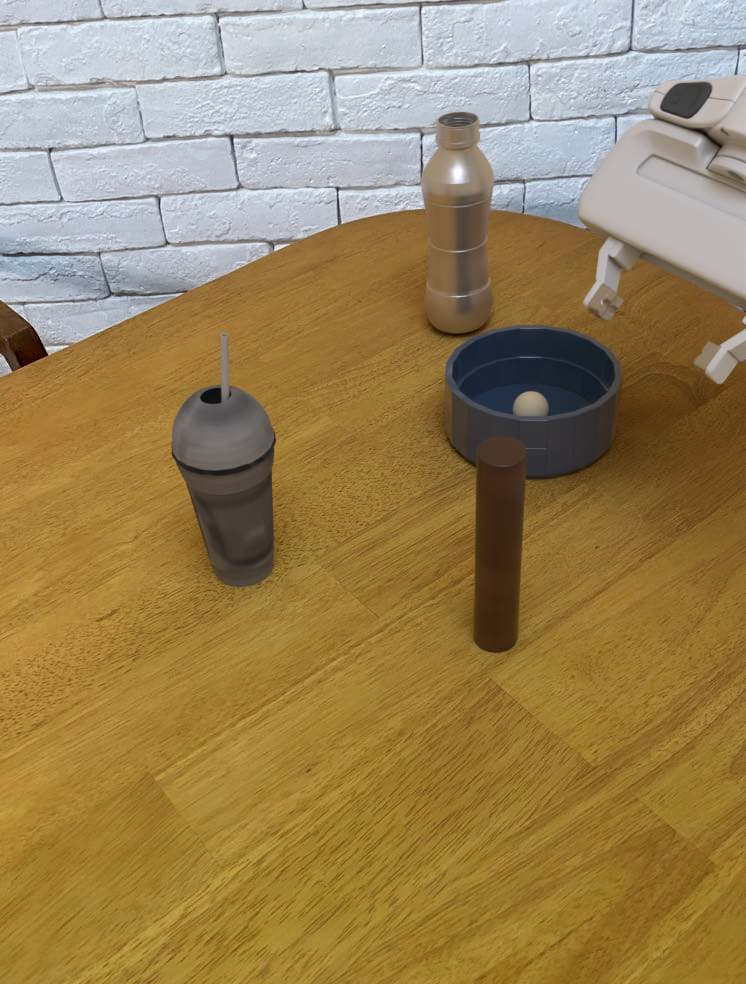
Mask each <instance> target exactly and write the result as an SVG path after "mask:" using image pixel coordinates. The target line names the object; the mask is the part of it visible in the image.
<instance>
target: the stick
mask: <svg viewBox="0 0 746 984" xmlns="http://www.w3.org/2000/svg"><path fill="white" fill-rule="evenodd" d="M526 463H527V449H526V447H525V446H524V445H523V443H521V442H520V441H518V440H516V439H513V438H510V437H493V438H489V439H487V440H485V441H483V442H482V443H481V444H480V445H479V446H478V448H477V452H476V465H475V520H474V521H475V523H474V525H475V527H474V528H475V530H474V538H475V539H474V592H473V593H474V594H473V595H474V596H473V597H474V598H473V639H474V643H476V645H477V646H478V647H479V648H480V649H482V650H484V651H487V652H489V653H504V652H506V651H509V650H511V649H512V648H513V647H514V646H515V645H516V644H517V642H518V636H519V620H520V619H519V617H520V598H521V597H520V596H521V581H522V580H521V577H522V559H523V542H524V541H523V540H524V539H523V538H524V537H523V536H524V518H525V499H526V480H527V479H526Z"/></svg>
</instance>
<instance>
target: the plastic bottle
mask: <svg viewBox="0 0 746 984" xmlns="http://www.w3.org/2000/svg"><path fill="white" fill-rule="evenodd" d="M434 137H435V138H434V139H435V140H434V141H435V144H436V145H437V146H438V147H437V149H436V150H435V151H434V152H433V154H432V155H431V157H430V158H429V160H428V161H427V163H426V165H425V167H424V169H423V171H422V173H421V174H422V175H421V179H420V186H421V193H422V201H423V207H424V212H425V217H426V227H427V235H428V249H429V251H428V267H427V279H426V282H425V283H426V284H425V289H424V300H423V306H424V311H425V315H426V319H427V320H428V321H429V323H430V324H431V325H432V326H433V327H434V328H435V329H437V330H438V331H440V332H443V333H447V334H466V333H471V332H473V331H476V330H478V329H480V328H481V327H483V325H484V324H485V323H486V322H487V321H488V319H489V318H490V317H491V314H492V309H493V305H494V292H493V285H492V281H491V277H490V270H489V255H488V233H489V218H490V212H491V206H492V201H493V200H492V199H493V194H494V186H495V185H494V184H495V175H494V171H493V167H492V165H491V163H490V162H489V160H488V158H487V157H486V155H485V153H484V152H483V151H482V150H481V148H480V147H479V145H478V143H480V141H481V132H480V117H479V115H478V114H476V113H473V112H471V111H451V112H448V113H444V114H442V115H440V116H439V117H438V118H437V119H436V134H435V136H434Z"/></svg>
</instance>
